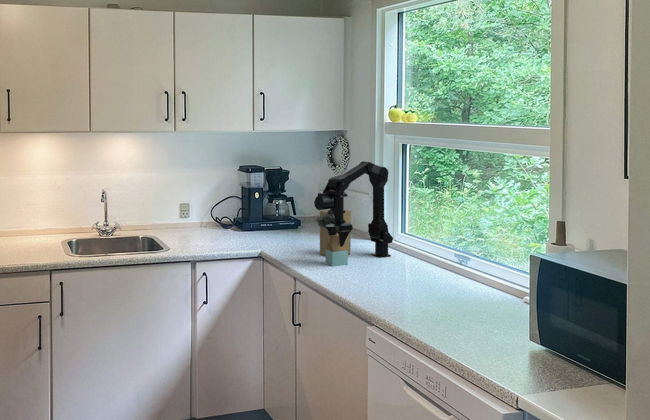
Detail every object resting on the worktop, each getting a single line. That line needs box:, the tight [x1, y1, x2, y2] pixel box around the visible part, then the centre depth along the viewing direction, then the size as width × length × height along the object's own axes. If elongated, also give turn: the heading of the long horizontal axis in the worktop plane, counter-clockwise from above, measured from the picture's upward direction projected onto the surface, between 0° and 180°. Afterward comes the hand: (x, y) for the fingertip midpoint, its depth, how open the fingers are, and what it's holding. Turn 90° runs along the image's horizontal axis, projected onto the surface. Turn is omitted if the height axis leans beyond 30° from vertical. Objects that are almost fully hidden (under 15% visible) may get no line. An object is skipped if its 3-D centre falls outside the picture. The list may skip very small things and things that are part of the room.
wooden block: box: [319, 209, 352, 257], centre depth 360 cm, size 10×10×20 cm
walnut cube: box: [328, 235, 345, 252], centre depth 339 cm, size 6×6×6 cm
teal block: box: [325, 249, 349, 267], centre depth 340 cm, size 7×7×6 cm
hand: (336, 244), depth 339 cm, fingers open, 9 cm apart
